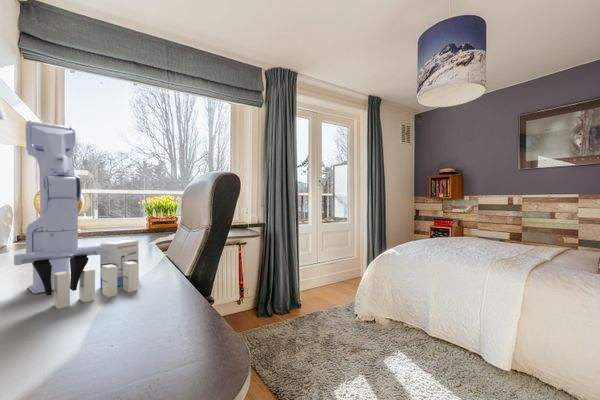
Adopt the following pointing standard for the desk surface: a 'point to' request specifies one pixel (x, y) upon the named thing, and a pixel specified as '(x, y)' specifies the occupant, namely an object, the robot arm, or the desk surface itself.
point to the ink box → (118, 256)
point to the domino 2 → (87, 285)
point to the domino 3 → (109, 280)
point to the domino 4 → (130, 276)
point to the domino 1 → (61, 289)
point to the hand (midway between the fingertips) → (61, 292)
